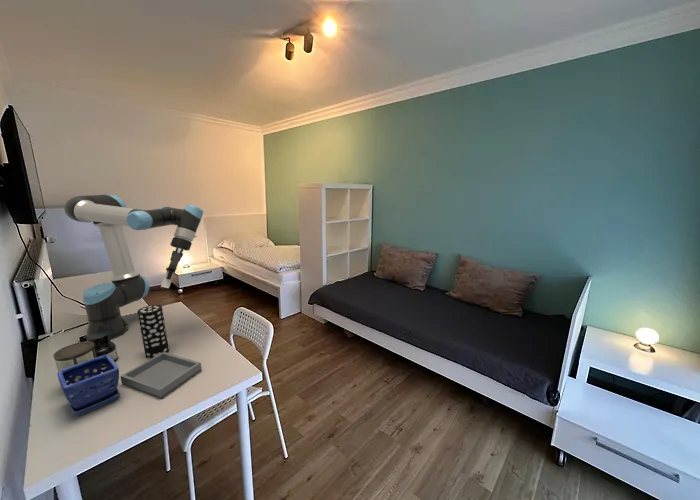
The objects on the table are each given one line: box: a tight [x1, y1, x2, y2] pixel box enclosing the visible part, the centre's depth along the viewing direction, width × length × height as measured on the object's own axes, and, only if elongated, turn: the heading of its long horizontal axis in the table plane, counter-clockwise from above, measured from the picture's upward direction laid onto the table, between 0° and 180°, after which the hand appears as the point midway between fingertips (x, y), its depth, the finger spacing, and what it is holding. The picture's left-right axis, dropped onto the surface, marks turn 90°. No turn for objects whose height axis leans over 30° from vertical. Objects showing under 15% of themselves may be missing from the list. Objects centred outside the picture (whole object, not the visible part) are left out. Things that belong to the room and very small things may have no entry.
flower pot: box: [57, 355, 121, 416], centre depth 93 cm, size 13×13×12 cm
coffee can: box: [52, 340, 97, 385], centre depth 101 cm, size 10×10×14 cm
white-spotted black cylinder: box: [136, 304, 170, 360], centre depth 119 cm, size 8×8×20 cm
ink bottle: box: [86, 331, 119, 369], centre depth 114 cm, size 10×9×12 cm
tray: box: [119, 352, 203, 400], centre depth 106 cm, size 20×16×4 cm
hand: (164, 287), depth 120 cm, fingers open, 13 cm apart
